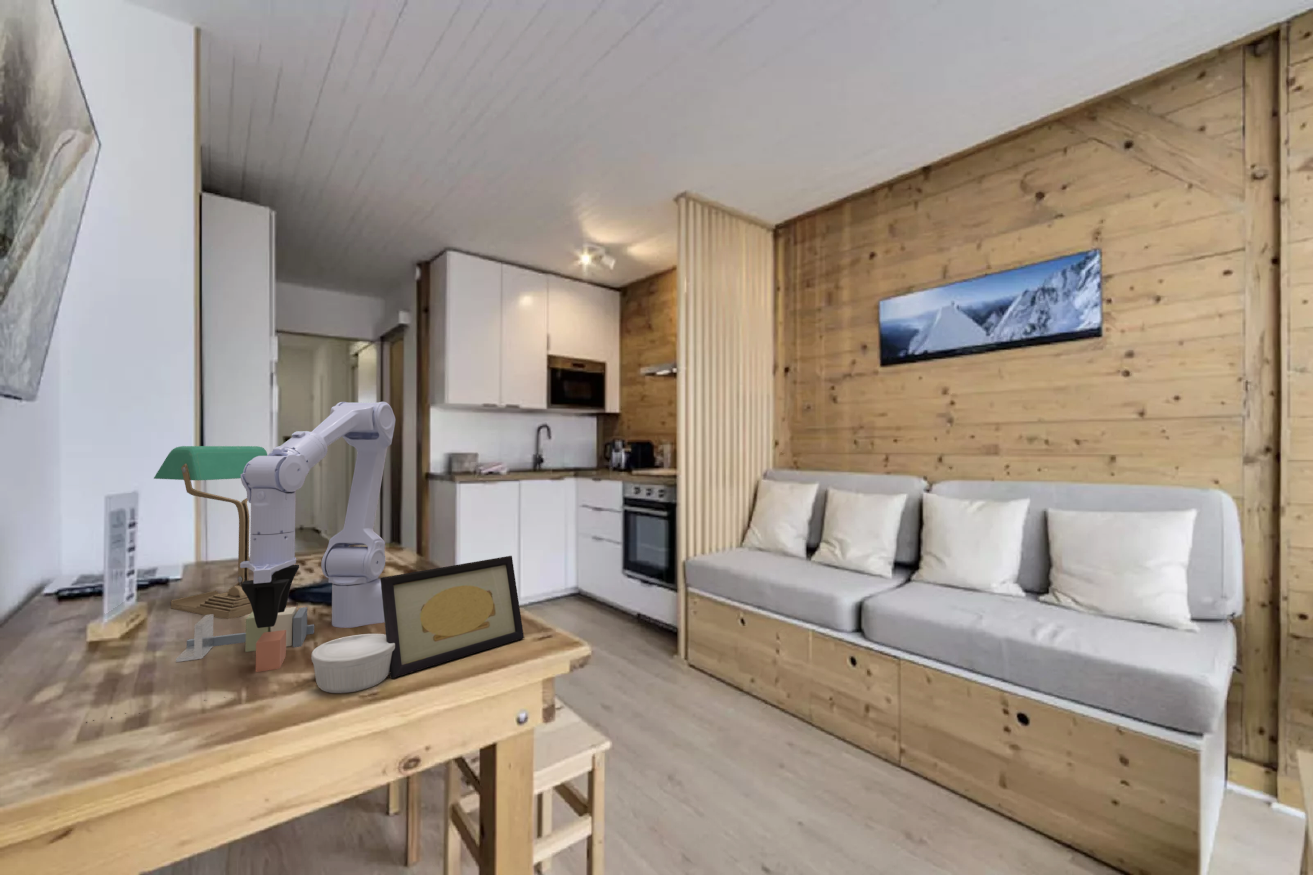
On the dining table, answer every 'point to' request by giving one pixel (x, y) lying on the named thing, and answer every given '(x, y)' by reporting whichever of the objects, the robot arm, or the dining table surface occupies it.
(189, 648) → the bookend
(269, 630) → the olive block
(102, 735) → the dining table surface
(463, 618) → the picture frame
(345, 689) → the ramekin
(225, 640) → the shelf
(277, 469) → the robot arm
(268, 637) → the rust book
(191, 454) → the banker's lamp
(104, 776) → the dining table surface
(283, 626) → the cream book
